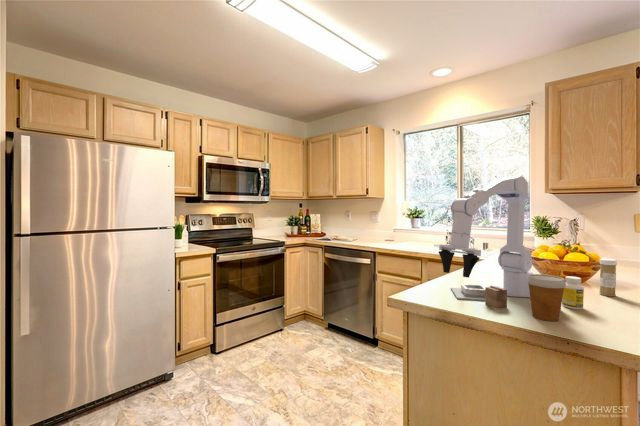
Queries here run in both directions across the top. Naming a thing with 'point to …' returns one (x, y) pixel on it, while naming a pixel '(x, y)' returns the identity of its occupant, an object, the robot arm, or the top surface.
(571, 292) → the supplement bottle
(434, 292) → the top surface
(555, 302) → the disposable coffee cup
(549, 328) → the top surface
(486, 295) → the keyed block
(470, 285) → the collar
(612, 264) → the sprinkles bottle
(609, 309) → the top surface
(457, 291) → the socket plate
